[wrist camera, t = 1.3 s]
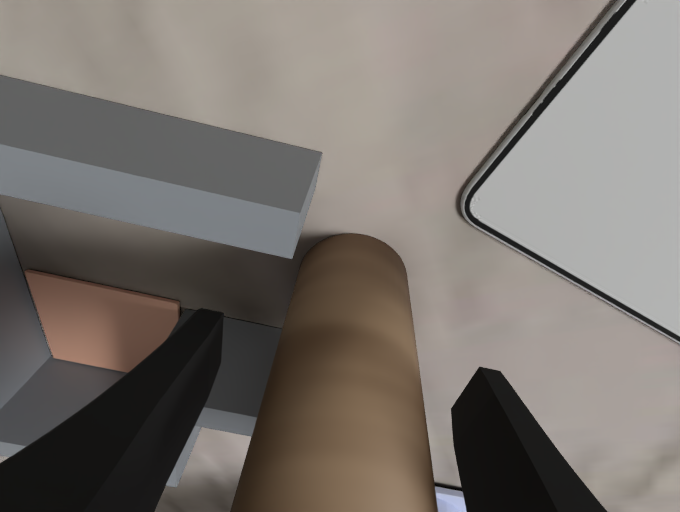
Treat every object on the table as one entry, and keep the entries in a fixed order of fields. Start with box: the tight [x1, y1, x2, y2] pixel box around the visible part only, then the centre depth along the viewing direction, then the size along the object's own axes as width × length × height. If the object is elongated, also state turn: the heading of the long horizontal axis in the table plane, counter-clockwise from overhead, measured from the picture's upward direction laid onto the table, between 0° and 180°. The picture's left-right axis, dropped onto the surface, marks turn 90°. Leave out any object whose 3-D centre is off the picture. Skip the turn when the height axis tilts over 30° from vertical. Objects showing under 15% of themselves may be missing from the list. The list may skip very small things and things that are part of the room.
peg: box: [230, 234, 438, 512], centre depth 10 cm, size 4×4×9 cm
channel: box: [0, 75, 322, 487], centre depth 13 cm, size 14×12×4 cm
